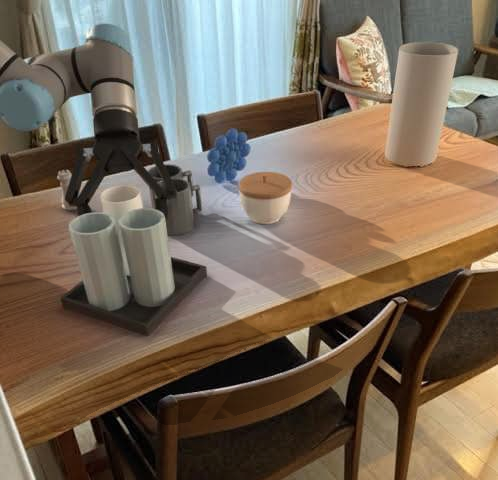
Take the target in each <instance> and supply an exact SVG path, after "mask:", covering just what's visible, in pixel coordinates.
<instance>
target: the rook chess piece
mask: <svg viewBox="0 0 498 480" xmlns="http://www.w3.org/2000/svg"><path fill="white" fill-rule="evenodd" d="M71 176H72V172H71V170H69V169H66V170H65V169H62V170H59V171H58V172H57V177H56V179H57V180H59V181H60V184H59V185H60V186H61V190H62V191H61V192H62V196H61V200H60V203H61V207H62V209H63V210H66V211H68V212H71V211H77V207H76V206H70V205H69V204H68V203H67V201H66V200H65V195H66V192H67V189H68V185H69V182H70V179H71ZM77 198H78V197H77Z"/></svg>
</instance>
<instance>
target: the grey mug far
mask: <svg viewBox="0 0 498 480" xmlns="http://www.w3.org/2000/svg"><path fill="white" fill-rule="evenodd" d="M164 165H165V167H166V169H167V171H168V173H169V175H170V177H171V178H179V179H184V178H185V177H186V178H187V180H186V181H188V182H189V183H190V187H191V186H194V184H193V183H194V182H193V173H192V170H186V171H183V169H182V167H180V165H179V166H178V165H176V164H164ZM147 171H148V172H149V173H150V175H151V176H152V177H153V178H154V179H155V181H156V182H159V181H161V180H163V179H162V177H161V175H160V173H159V171H158V169H157V167H156V165H155V166H152V167H150V168H149V169H148V170H147ZM148 188H149V195H150V200H151V208H152V209H156V202H155V195H154V192H153V191H152V190H151V189H150V187H149V186H148ZM194 192H195V191H192V192H191V198H194V195H195V193H194Z"/></svg>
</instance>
